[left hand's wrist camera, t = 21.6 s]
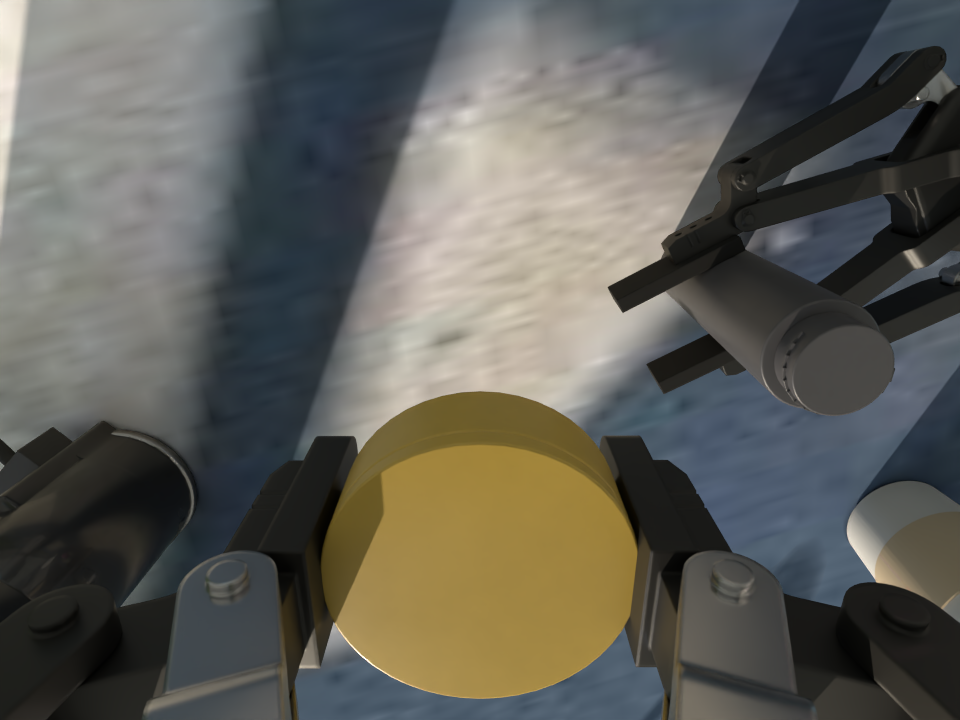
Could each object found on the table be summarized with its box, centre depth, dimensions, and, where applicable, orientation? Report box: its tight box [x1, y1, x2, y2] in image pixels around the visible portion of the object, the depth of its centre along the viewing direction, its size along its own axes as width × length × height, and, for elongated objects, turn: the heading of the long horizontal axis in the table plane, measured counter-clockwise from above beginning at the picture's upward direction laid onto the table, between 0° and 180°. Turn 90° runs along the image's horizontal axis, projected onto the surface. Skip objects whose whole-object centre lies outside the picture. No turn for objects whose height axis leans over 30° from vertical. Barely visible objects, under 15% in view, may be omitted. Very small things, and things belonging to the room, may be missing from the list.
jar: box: [661, 250, 895, 416], centre depth 29 cm, size 4×4×17 cm
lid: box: [320, 391, 638, 698], centre depth 10 cm, size 5×5×2 cm
